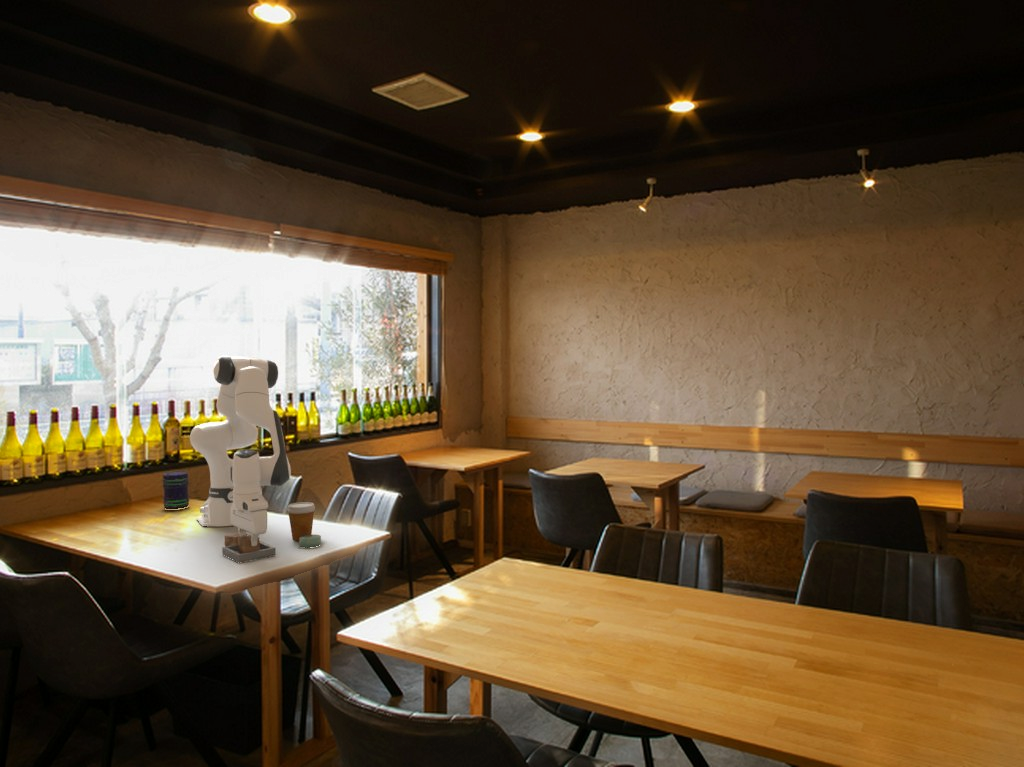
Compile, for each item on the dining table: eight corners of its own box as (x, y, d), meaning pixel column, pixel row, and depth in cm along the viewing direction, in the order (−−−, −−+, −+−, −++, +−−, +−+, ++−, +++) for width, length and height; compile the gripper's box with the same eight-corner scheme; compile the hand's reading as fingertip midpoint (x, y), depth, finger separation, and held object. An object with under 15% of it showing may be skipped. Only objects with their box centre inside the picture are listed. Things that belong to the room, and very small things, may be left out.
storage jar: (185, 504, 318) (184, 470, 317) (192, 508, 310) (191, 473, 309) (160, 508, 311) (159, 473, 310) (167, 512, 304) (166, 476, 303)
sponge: (296, 545, 250) (295, 536, 250) (315, 542, 255) (315, 533, 255) (305, 549, 245) (304, 540, 245) (324, 546, 250) (324, 537, 249)
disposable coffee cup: (319, 535, 263) (319, 502, 262) (310, 542, 253) (309, 507, 253) (294, 535, 264) (293, 501, 263) (283, 542, 254) (282, 507, 254)
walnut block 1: (225, 550, 245) (224, 535, 245) (236, 546, 249) (236, 532, 249) (235, 552, 243) (235, 537, 242) (247, 548, 247) (247, 533, 247)
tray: (222, 554, 239) (222, 547, 239) (258, 547, 247) (258, 540, 247) (238, 563, 230) (238, 555, 230) (275, 555, 238) (275, 547, 238)
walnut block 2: (238, 552, 239) (237, 537, 238) (253, 549, 242) (252, 534, 242) (244, 555, 235) (244, 540, 235) (259, 552, 238) (259, 537, 238)
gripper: (224, 497, 243) (226, 539, 244) (251, 507, 228) (252, 551, 229) (243, 494, 247) (244, 535, 248) (270, 503, 233) (271, 547, 233)
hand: (248, 543), depth 238 cm, fingers open, 6 cm apart
